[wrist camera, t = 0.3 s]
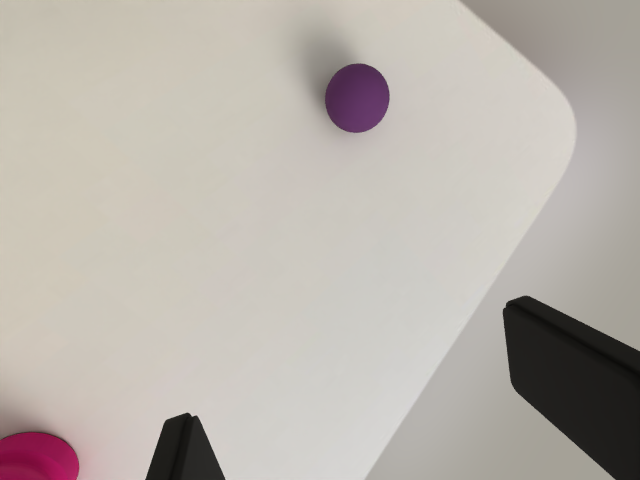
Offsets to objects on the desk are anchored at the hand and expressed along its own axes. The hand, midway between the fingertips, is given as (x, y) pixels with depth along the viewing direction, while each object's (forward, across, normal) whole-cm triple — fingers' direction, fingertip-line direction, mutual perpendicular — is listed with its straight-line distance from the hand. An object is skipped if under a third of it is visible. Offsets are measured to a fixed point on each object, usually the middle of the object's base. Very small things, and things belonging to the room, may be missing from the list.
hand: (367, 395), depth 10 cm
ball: (+14, -6, -9) cm, 18 cm away
